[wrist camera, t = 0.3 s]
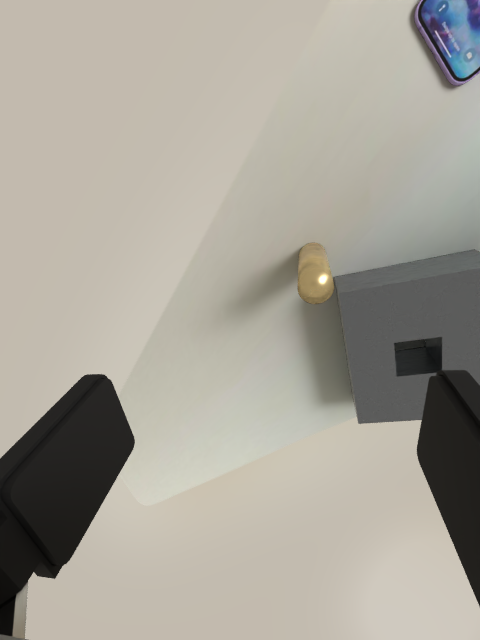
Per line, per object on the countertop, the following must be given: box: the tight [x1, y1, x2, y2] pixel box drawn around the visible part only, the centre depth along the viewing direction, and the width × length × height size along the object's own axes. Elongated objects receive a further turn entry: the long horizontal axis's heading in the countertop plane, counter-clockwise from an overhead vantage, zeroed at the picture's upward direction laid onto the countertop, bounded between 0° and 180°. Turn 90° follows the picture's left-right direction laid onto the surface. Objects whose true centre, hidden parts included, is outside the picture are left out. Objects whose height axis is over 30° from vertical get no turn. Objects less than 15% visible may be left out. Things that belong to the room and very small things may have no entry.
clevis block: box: [334, 249, 480, 424], centre depth 34 cm, size 14×18×5 cm
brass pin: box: [298, 243, 334, 304], centre depth 30 cm, size 3×3×10 cm
